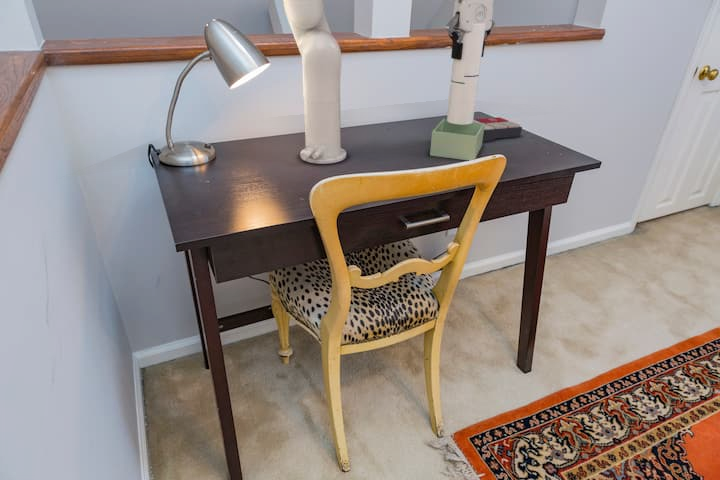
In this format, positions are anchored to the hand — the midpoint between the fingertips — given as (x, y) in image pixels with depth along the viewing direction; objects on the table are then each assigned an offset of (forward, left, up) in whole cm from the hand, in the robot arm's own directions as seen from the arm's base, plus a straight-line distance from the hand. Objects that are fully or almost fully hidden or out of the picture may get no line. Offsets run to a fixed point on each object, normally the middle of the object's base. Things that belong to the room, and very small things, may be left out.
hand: (467, 57), depth 127 cm
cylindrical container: (0, 0, -17) cm, 17 cm away
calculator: (+20, -7, -26) cm, 33 cm away
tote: (0, 0, -25) cm, 25 cm away
